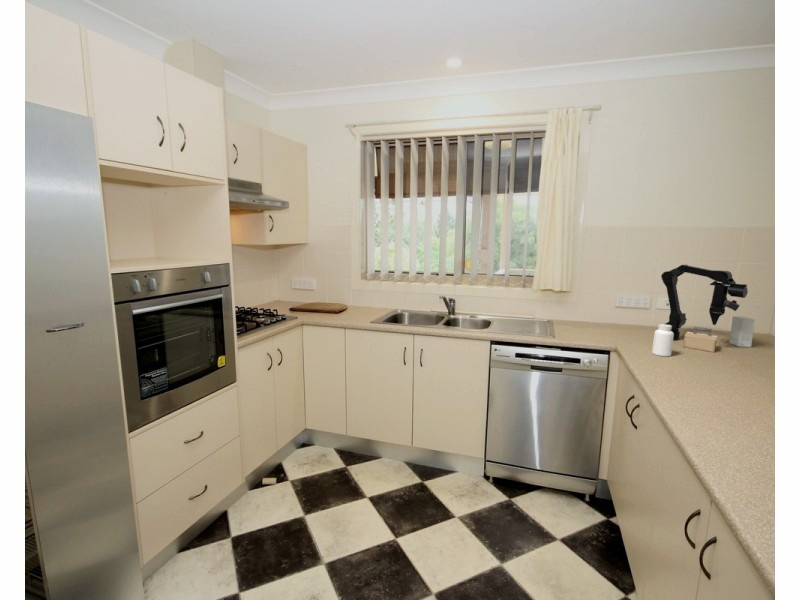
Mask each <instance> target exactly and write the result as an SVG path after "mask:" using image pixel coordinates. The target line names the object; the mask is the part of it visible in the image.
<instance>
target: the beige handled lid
mask: <svg viewBox="0 0 800 600" xmlns="http://www.w3.org/2000/svg"><path fill="white" fill-rule="evenodd" d="M697 331H699V332H700V331H701V332H708V334H706V333H705V334H704V333H698V332H697ZM685 336H686V337H693V338H700V339H706V340H713V341H716V339H717V340H718V335H712V328H707V327H706V328H705V327H698V326H693V332H692V331H686V332H685V334H684V337H685ZM716 342H717V341H716Z"/></svg>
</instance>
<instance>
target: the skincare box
mask: <svg viewBox="0 0 800 600" xmlns="http://www.w3.org/2000/svg"><path fill="white" fill-rule="evenodd" d="M755 320H756V319H754V318H751V317H747V316H736V315H735V316H732V318H731V327H730V333H729V340H728V341H729V344H731V345H734V346H737V347H743V348H752V344H753V343H752V342H753V336H754V335H753V334H754V329H755V322H756V321H755Z"/></svg>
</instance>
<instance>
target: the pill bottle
mask: <svg viewBox="0 0 800 600" xmlns="http://www.w3.org/2000/svg"><path fill="white" fill-rule="evenodd" d="M657 328H658V329H656V330H655V331H654V335H653V343H652V349H651V352H652V354H653V355H654V356H660V357H671V356H672V350H673V343H674V340H673V337H674V333H673V332H672V331H670V330H671V329H672V326H671V325H666V323H659V324H658V327H657Z"/></svg>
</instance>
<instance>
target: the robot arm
mask: <svg viewBox="0 0 800 600" xmlns="http://www.w3.org/2000/svg"><path fill="white" fill-rule="evenodd" d="M685 273H687V274H691V275H697V276H702V277H706V278H709V279H711V280H713V282H711V283H709V285H710V286H714V287H713V293H712V298H711V303H710V306H709V310H708V313H709V316H710V319H711V323H712V325H713V326H716V325H717V323H718V321H719V319H720V317H721V316H724V314H725V313H726V312H725V311H726V308H728V309H730V310H732V311H734V312H737V310H738V309H739V307H740V304H739V303H737V302H738V301H737V300H734V299H733V300H728V297H727V296H728V295H729V297H735V298H742V299H744V298H746V297H747V295H748V293H749V292H748V284H745V283H744V284H740V283H736V281H735V279H734V278H733V274H732V272H731V271H729V270H719V269H718V270H715V269H714V270H712V269H707V268H702V267H697V266H691V265H688V264H681V265H679V266H678V267H675V268H672V269H670V270H669V271H667V270H665V271H664V272H662V273H661V280H662V283H663V284H664V286H665V287H666V292H667V297H668V304H669V309H670V312H669V313H670V314H669V316H668V322H666V323H665V324H666V325H671V326H672V329H671V330H670V331H672V332H673V333H674V337H673V341H678V340H679V339H680V335H681V331H680V329H681V327H682V326H684V325H686V323H687V322H686V321H688V319H687V317H686V315H687V314H686V312H684V313H683V312H682V310H681V306H680V301H679V294H678V290H677V284H678V281H679V280H678V277H680V276H682V275H683V274H685Z"/></svg>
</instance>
